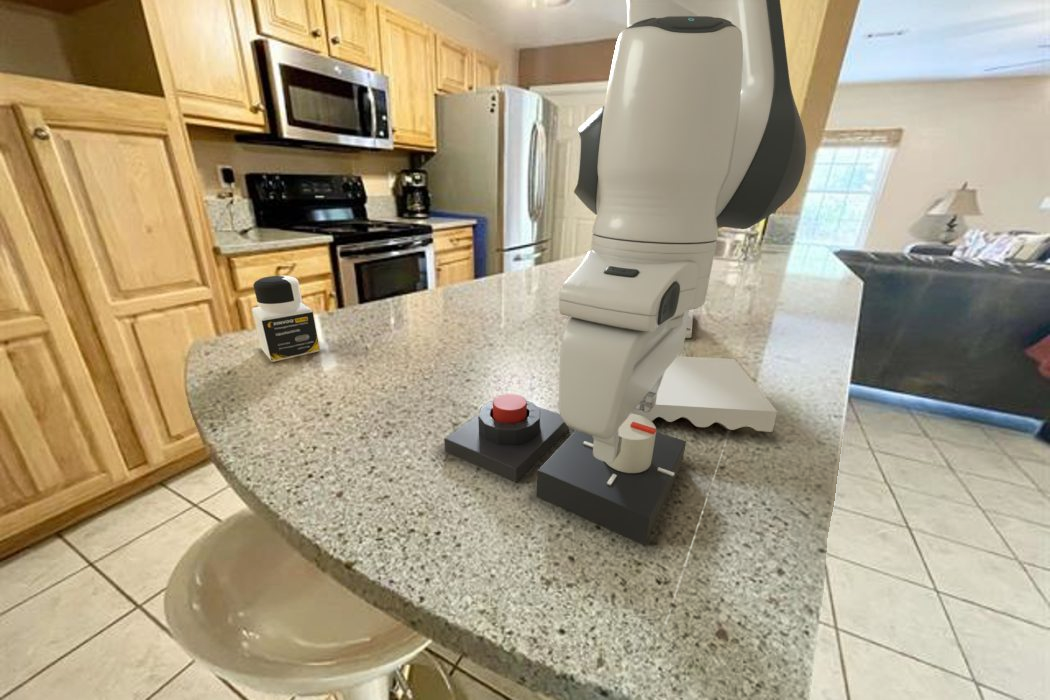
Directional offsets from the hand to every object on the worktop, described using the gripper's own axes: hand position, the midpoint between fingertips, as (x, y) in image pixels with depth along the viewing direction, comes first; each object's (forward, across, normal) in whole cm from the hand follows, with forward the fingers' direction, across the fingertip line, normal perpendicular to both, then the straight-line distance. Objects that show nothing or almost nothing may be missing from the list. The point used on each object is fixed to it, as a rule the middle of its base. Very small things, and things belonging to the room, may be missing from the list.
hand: (626, 429), depth 37 cm
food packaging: (+6, -19, -1) cm, 20 cm away
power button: (+3, 0, -13) cm, 13 cm away
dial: (+3, 0, 0) cm, 3 cm away
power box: (+6, 0, -13) cm, 14 cm away
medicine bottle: (+6, -1, -57) cm, 57 cm away
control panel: (+6, 0, -1) cm, 6 cm away
